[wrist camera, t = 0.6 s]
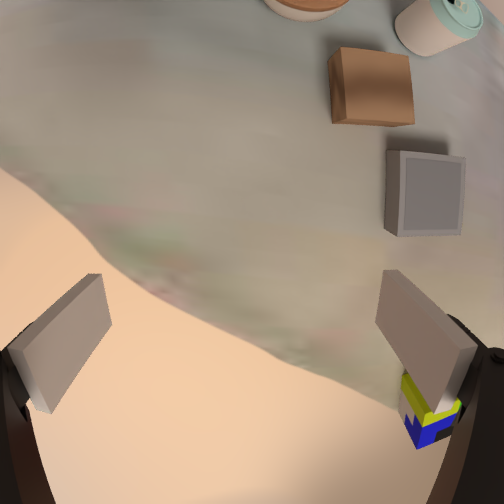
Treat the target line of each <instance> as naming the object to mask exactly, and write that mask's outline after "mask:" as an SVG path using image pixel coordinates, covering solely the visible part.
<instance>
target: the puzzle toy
mask: <svg viewBox="0 0 504 504" xmlns="http://www.w3.org/2000/svg"><path fill="white" fill-rule="evenodd" d="M461 404H462V403H461V402H460V400H459V399H458V397H457V398H456V400H455V402H454V404H453V406H452V408H451V410H448V411H445V412H441V413H438V414H433V412H432V411H431V409H430V407H429V406H428V404H427V402H426V401H425V399H424V397H423V396H422V394H421V393H420V391H419V389H418V388H417V386H416V384H415V383H414V381H413V380H412V378H411V376H410V375H409V373H407V374H404V375H402V383H401V394H400V403H399V414H400V416H401V418H402V420H403V422H404V425H405V426H406V429H407V431H408V433H409V435H410V437H411V439H412V441H413V443H414V445H415V447H416V449H420V448H422V447H425V446H427V445H430V444H432V443H434V442H437V441H439V440H441V439H443V438H446V437H448V436H450V435H452V432H453V428H454V426H450V425H451V424H452V422H453V420H454V418H455V416H456V414H457V412H458V410H459V408H460V406H461Z"/></svg>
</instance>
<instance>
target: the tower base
mask: <svg viewBox="0 0 504 504" xmlns="http://www.w3.org/2000/svg"><path fill="white" fill-rule="evenodd" d="M465 170H466V158H465V157H457V156H449V155H441V154H432V153H422V152H412V151H399V150H386V203H385V224H384V229H385V230H387V231H389V232H390V233H392V234H393V235H395V236H397V237H409V236H447V235H461V229H462V220H463V209H464V194H465Z"/></svg>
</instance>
